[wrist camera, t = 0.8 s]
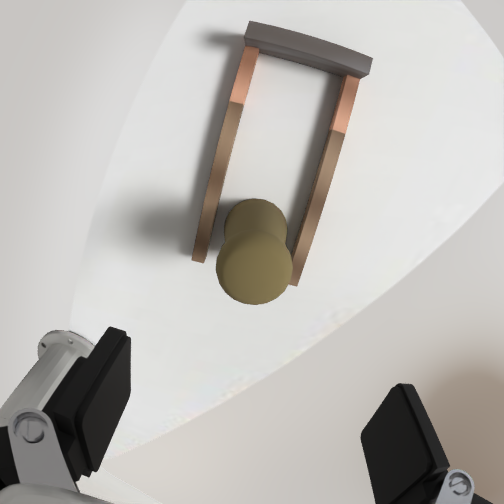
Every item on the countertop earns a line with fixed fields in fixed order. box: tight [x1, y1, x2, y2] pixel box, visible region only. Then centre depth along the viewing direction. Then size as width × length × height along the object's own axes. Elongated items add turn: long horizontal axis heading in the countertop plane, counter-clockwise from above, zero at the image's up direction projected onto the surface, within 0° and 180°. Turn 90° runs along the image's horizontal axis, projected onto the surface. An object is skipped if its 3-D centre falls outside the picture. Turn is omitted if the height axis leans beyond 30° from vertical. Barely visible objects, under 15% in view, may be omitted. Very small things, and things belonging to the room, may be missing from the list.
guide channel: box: [192, 21, 373, 286], centre depth 26 cm, size 22×10×4 cm, turn 165°
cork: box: [216, 199, 293, 305], centre depth 25 cm, size 6×6×11 cm
